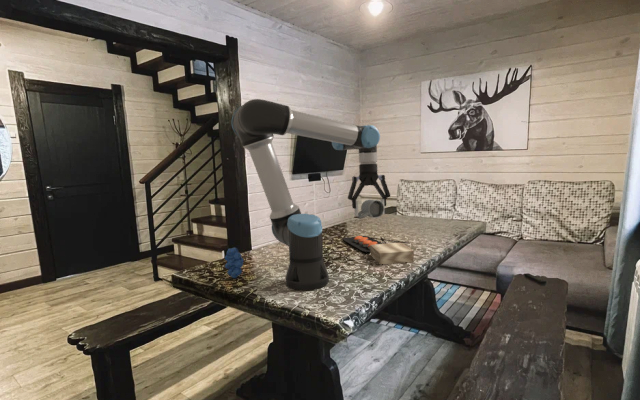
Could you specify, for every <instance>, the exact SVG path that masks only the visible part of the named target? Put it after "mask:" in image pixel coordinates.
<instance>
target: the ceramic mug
mask: <svg viewBox="0 0 640 400" xmlns="http://www.w3.org/2000/svg"><path fill="white" fill-rule="evenodd" d="M384 211H385V206H384V205H383V203H382V202H381V201H380V199H367V200H364V201H363V202H362V203H361V205H360V211H358V217H357V218H358V219H360V220H362V219H364V218H367V217H370V218H372V219H379V218H380V217H382V216H383V215H384V214H383V212H384Z"/></svg>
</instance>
